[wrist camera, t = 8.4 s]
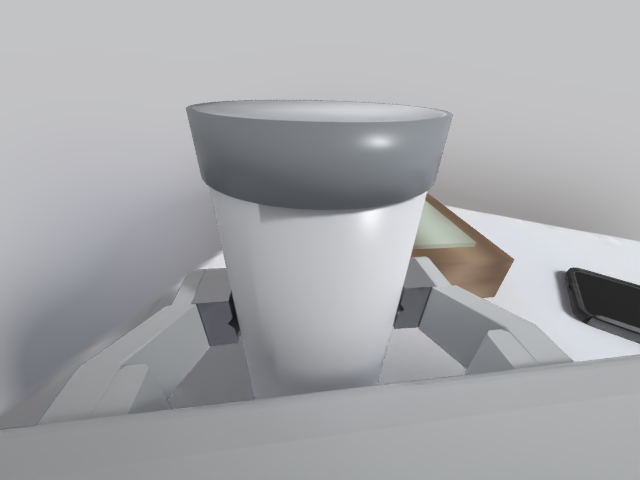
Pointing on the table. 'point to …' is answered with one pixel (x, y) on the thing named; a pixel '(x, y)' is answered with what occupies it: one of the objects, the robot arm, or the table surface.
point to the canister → (316, 228)
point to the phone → (605, 302)
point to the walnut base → (459, 250)
